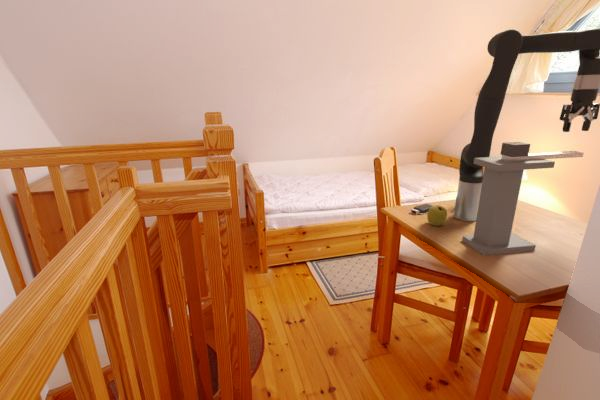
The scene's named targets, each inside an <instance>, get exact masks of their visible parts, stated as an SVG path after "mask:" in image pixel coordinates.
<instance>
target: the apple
mask: <svg viewBox="0 0 600 400" xmlns="http://www.w3.org/2000/svg"><path fill="white" fill-rule="evenodd" d="M426 214H427V215H426V217H427V218H426V219H427V221H428V224H430V225H431V226H435V227H440V226H441V225H443V224H444V223H445V222H446V220H447V217H448V211H447V209H446V208H445V207H443V206H441V205H432V207H431V208H430V209H429V210H428V213H426Z"/></svg>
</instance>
